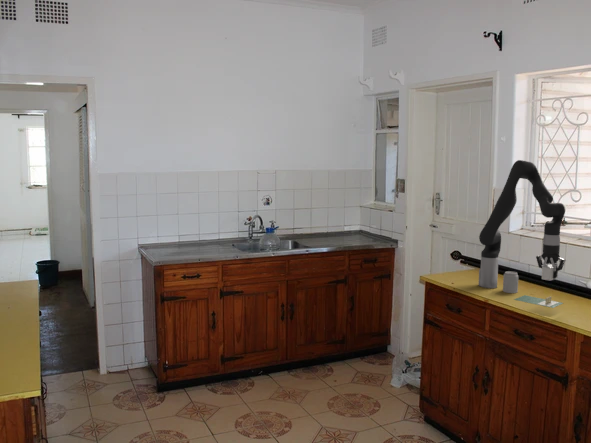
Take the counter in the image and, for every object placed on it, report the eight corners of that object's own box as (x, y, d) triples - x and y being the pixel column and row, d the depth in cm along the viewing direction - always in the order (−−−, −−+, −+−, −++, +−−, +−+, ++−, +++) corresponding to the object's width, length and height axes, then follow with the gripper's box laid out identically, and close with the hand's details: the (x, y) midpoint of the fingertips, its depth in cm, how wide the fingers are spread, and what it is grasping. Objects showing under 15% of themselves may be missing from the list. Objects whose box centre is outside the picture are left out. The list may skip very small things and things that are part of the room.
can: (510, 296, 294) (511, 274, 293) (499, 293, 301) (500, 271, 299) (520, 294, 298) (521, 272, 296) (509, 291, 304) (510, 270, 303)
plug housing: (549, 276, 279) (549, 264, 278) (557, 277, 276) (558, 266, 275) (541, 279, 273) (542, 267, 272) (550, 280, 270) (550, 268, 269)
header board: (513, 302, 284) (513, 293, 283) (524, 297, 292) (524, 289, 291) (552, 310, 269) (553, 301, 268) (563, 305, 277) (564, 297, 276)
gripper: (569, 244, 269) (567, 278, 272) (540, 240, 280) (538, 274, 282) (562, 246, 264) (561, 281, 267) (533, 242, 275) (532, 276, 277)
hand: (549, 277), depth 274 cm, fingers closed on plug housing, 4 cm apart
